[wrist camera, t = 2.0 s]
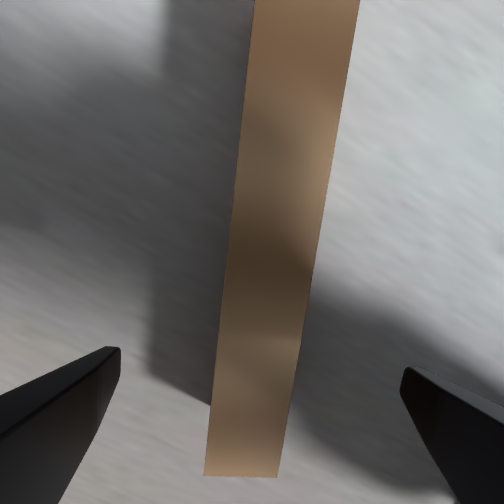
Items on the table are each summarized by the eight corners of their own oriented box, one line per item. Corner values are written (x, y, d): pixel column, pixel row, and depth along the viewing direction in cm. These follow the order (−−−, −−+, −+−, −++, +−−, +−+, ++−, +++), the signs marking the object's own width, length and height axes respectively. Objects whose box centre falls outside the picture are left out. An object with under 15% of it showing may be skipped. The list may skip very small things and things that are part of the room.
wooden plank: (265, 405, 15) (277, 477, 11) (210, 402, 15) (203, 475, 11) (322, 37, 12) (366, -40, 8) (251, 24, 11) (261, -62, 8)
